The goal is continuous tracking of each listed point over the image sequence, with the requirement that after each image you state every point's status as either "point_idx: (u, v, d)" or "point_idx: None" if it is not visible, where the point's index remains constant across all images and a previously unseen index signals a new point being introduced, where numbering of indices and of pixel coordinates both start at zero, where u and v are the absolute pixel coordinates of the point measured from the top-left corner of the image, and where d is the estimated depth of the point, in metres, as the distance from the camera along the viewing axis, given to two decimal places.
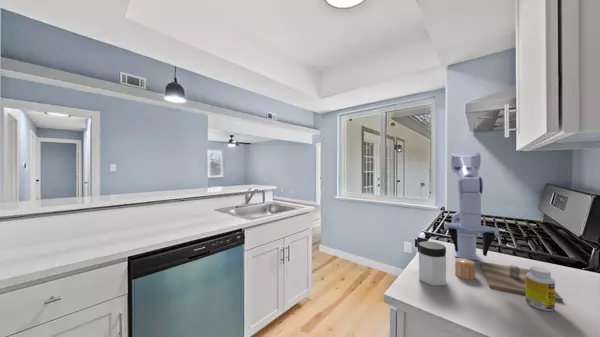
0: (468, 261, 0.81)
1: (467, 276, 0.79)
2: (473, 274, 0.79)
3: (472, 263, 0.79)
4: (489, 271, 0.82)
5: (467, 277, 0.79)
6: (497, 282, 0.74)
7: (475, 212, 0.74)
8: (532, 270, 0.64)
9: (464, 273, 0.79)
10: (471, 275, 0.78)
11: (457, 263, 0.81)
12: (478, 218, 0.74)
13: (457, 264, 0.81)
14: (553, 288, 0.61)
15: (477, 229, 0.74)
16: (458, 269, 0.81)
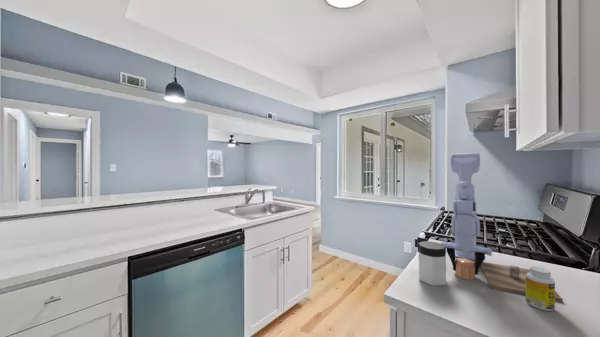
0: (468, 261, 0.81)
1: (467, 276, 0.79)
2: (473, 274, 0.79)
3: (472, 263, 0.79)
4: (489, 271, 0.82)
5: (467, 277, 0.79)
6: (497, 282, 0.74)
7: (469, 233, 0.78)
8: (532, 270, 0.64)
9: (464, 273, 0.79)
10: (471, 275, 0.78)
11: (457, 263, 0.81)
12: (472, 239, 0.78)
13: (457, 264, 0.81)
14: (553, 288, 0.61)
15: (471, 250, 0.78)
16: (458, 269, 0.81)
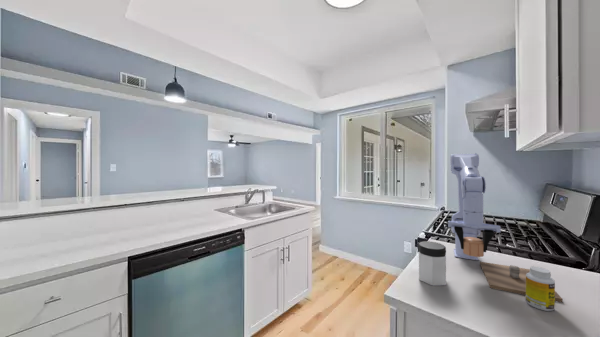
0: (476, 239, 0.80)
1: (475, 254, 0.78)
2: (481, 252, 0.78)
3: (480, 241, 0.79)
4: (489, 271, 0.82)
5: (475, 255, 0.78)
6: (497, 282, 0.74)
7: (478, 210, 0.77)
8: (532, 270, 0.64)
9: (472, 251, 0.78)
10: (479, 253, 0.78)
11: (465, 241, 0.80)
12: (480, 216, 0.78)
13: (465, 242, 0.80)
14: (553, 288, 0.61)
15: (480, 227, 0.77)
16: (466, 247, 0.80)
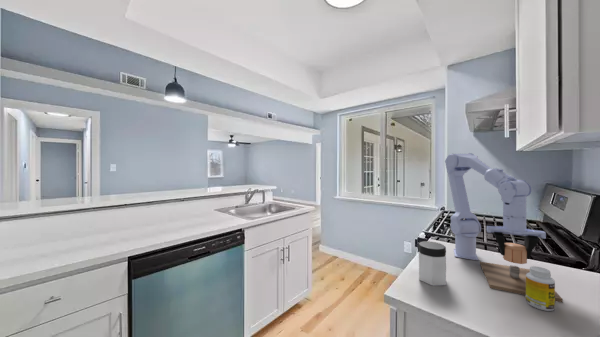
0: (518, 245, 0.77)
1: (519, 260, 0.75)
2: (525, 258, 0.75)
3: (523, 247, 0.76)
4: (489, 271, 0.82)
5: (519, 261, 0.75)
6: (497, 282, 0.74)
7: (525, 215, 0.75)
8: (532, 270, 0.64)
9: (515, 257, 0.75)
10: (523, 259, 0.75)
11: (506, 247, 0.77)
12: (524, 222, 0.74)
13: (506, 248, 0.77)
14: (553, 288, 0.61)
15: (523, 232, 0.74)
16: (508, 253, 0.77)
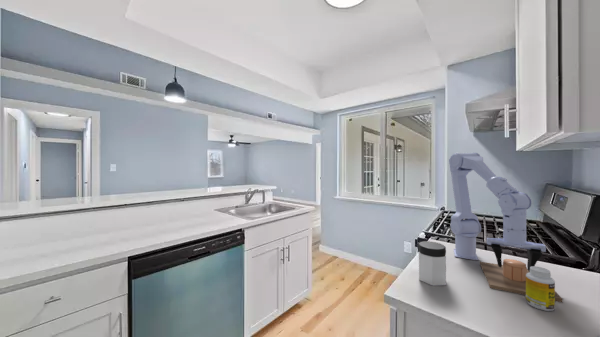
0: (518, 262, 0.77)
1: (518, 278, 0.75)
2: (525, 276, 0.75)
3: (523, 264, 0.76)
4: (489, 271, 0.82)
5: (518, 279, 0.75)
6: (497, 282, 0.74)
7: (525, 228, 0.75)
8: (532, 270, 0.64)
9: (515, 275, 0.75)
10: (523, 277, 0.75)
11: (506, 264, 0.77)
12: (524, 235, 0.75)
13: (506, 265, 0.77)
14: (553, 288, 0.61)
15: (523, 245, 0.74)
16: (508, 270, 0.77)
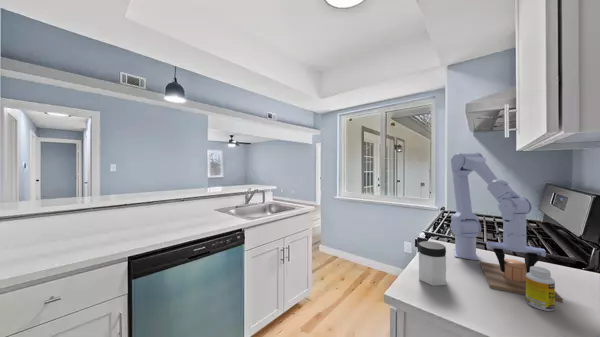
0: (518, 262, 0.77)
1: (518, 278, 0.75)
2: (525, 276, 0.75)
3: (523, 264, 0.76)
4: (489, 271, 0.82)
5: (518, 279, 0.75)
6: (497, 282, 0.74)
7: (525, 233, 0.75)
8: (532, 270, 0.64)
9: (515, 275, 0.75)
10: (523, 277, 0.75)
11: (506, 264, 0.77)
12: (524, 239, 0.75)
13: (506, 265, 0.77)
14: (553, 288, 0.61)
15: (523, 250, 0.74)
16: (508, 270, 0.77)
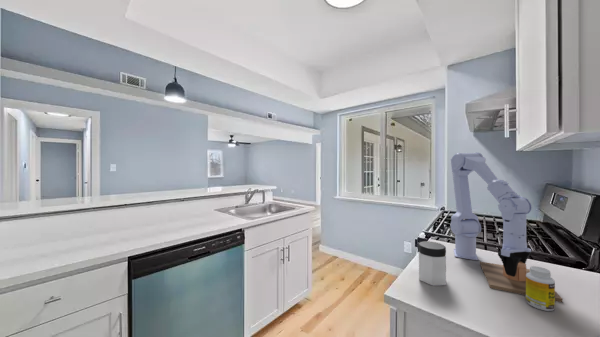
0: None
1: None
2: None
3: None
4: (489, 271, 0.82)
5: None
6: (497, 282, 0.74)
7: (525, 233, 0.75)
8: (532, 270, 0.64)
9: None
10: None
11: (525, 267, 0.75)
12: None
13: (525, 268, 0.75)
14: (553, 288, 0.61)
15: None
16: None
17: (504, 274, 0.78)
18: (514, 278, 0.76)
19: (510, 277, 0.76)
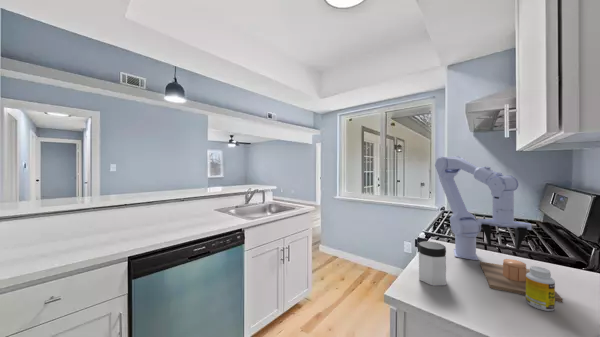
0: (510, 261, 0.79)
1: None
2: None
3: (511, 259, 0.80)
4: (489, 271, 0.82)
5: None
6: (497, 282, 0.74)
7: (513, 208, 0.80)
8: (532, 270, 0.64)
9: None
10: None
11: (525, 267, 0.75)
12: (511, 214, 0.80)
13: (525, 268, 0.75)
14: (553, 288, 0.61)
15: (511, 224, 0.79)
16: None
17: (504, 274, 0.78)
18: (514, 278, 0.76)
19: (510, 277, 0.76)
